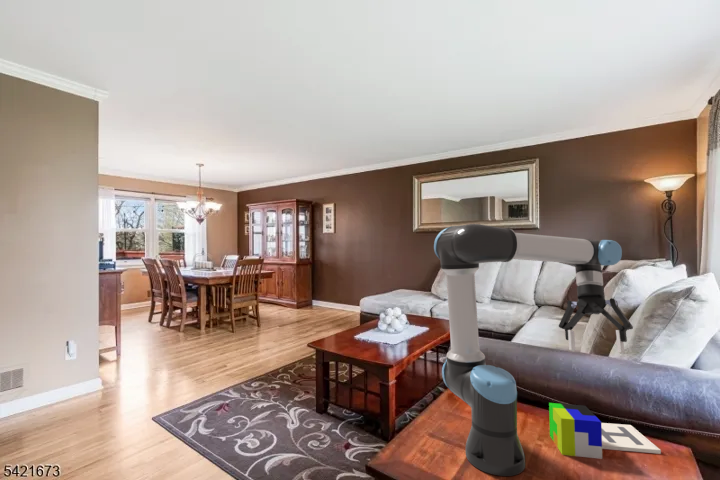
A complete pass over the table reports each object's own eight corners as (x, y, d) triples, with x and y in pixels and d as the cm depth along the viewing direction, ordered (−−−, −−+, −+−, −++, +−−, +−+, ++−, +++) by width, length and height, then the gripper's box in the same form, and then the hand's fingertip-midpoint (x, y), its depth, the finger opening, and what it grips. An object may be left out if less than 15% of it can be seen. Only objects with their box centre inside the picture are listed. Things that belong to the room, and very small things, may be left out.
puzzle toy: (602, 459, 93) (601, 421, 94) (562, 454, 95) (561, 418, 96) (586, 439, 103) (585, 405, 104) (549, 435, 105) (549, 402, 106)
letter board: (601, 448, 98) (601, 444, 98) (579, 424, 112) (579, 420, 112) (660, 453, 96) (660, 449, 96) (630, 428, 109) (630, 424, 109)
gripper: (639, 285, 108) (649, 356, 100) (556, 292, 127) (559, 351, 119) (630, 279, 104) (640, 352, 96) (546, 286, 123) (548, 347, 115)
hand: (595, 351), depth 108 cm, fingers open, 13 cm apart
